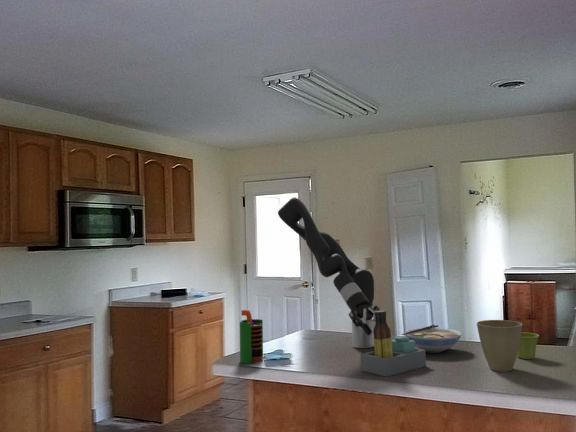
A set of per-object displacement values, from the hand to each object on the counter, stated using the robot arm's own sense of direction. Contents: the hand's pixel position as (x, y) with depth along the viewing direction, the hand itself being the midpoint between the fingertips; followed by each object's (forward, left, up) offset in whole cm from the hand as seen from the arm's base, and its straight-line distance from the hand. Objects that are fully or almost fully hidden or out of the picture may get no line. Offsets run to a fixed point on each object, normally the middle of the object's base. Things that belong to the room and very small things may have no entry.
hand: (378, 332), depth 197 cm
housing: (-4, +3, -13) cm, 14 cm away
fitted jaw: (-9, +3, -12) cm, 16 cm away
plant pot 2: (-51, +27, -13) cm, 59 cm away
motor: (+26, -44, -13) cm, 53 cm away
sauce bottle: (0, +2, -12) cm, 13 cm away
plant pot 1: (-29, +30, -13) cm, 44 cm away
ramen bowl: (-37, -5, -13) cm, 40 cm away
